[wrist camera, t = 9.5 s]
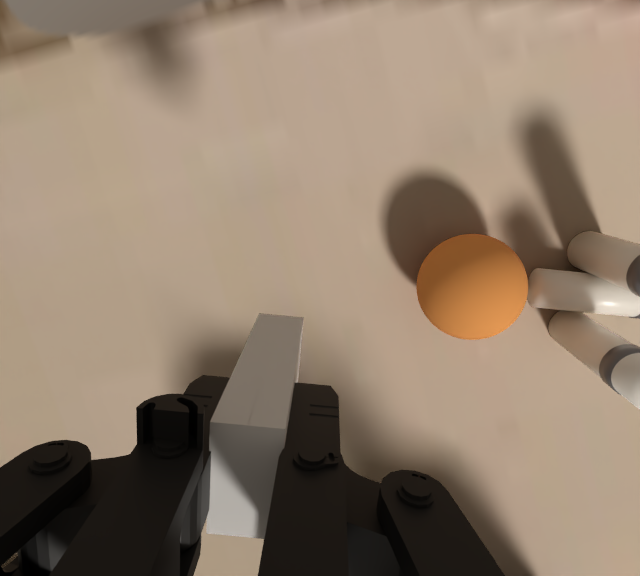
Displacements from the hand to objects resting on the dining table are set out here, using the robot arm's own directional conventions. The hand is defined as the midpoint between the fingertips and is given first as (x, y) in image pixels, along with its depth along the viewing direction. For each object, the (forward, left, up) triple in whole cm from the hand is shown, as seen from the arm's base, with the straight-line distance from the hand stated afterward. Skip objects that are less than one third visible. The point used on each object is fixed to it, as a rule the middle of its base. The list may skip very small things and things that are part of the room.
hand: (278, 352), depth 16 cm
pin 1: (+18, +2, -14) cm, 22 cm away
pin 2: (+18, -2, -14) cm, 22 cm away
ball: (+10, 0, -11) cm, 15 cm away
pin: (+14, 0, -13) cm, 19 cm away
